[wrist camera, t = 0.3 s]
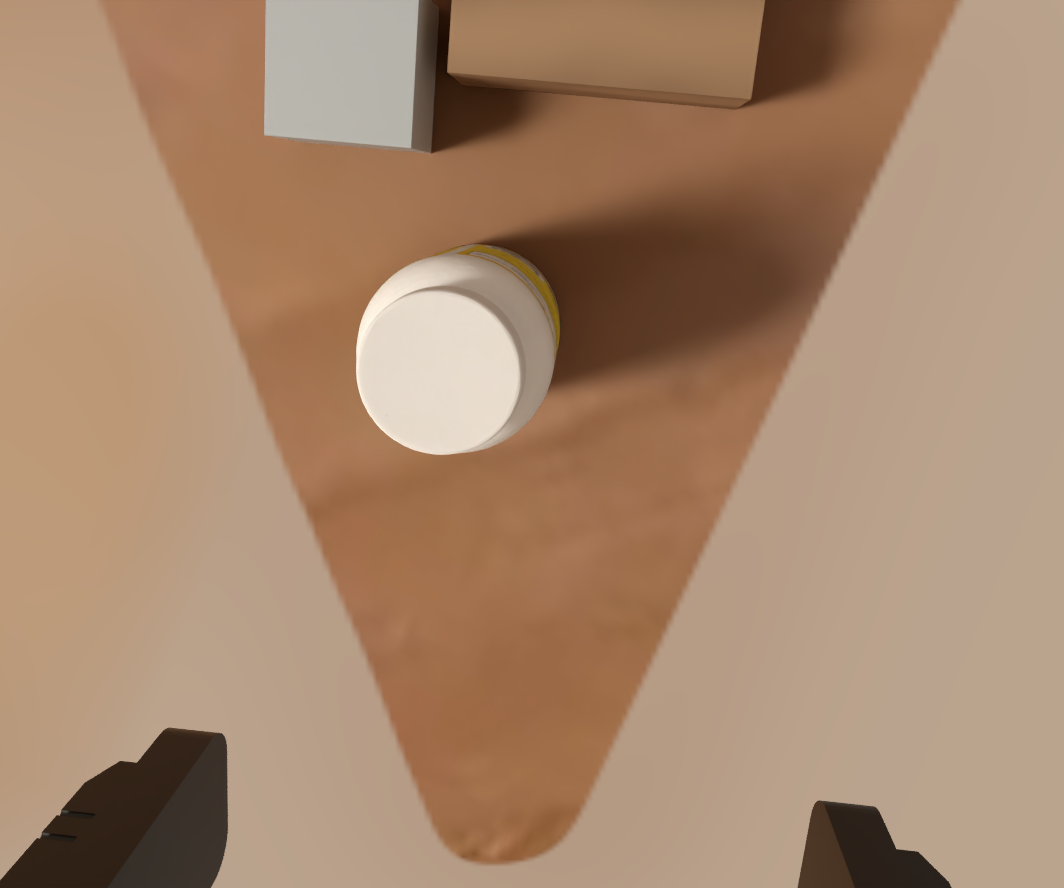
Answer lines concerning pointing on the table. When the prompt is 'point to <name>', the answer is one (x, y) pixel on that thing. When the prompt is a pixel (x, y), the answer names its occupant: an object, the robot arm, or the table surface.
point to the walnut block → (610, 48)
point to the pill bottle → (458, 349)
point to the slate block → (351, 72)
